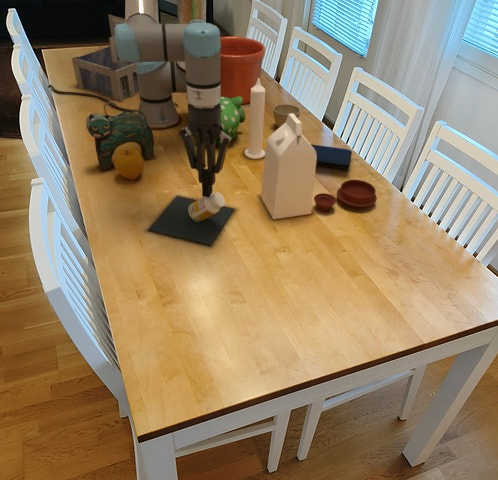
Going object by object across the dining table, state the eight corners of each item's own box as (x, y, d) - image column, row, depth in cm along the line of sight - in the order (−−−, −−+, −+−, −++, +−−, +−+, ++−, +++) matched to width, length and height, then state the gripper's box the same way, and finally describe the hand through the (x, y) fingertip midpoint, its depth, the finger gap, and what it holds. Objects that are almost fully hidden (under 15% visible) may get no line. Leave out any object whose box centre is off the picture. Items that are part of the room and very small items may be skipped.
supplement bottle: (205, 216, 127) (230, 203, 121) (196, 225, 124) (220, 212, 118) (194, 200, 126) (218, 186, 120) (184, 209, 122) (208, 195, 116)
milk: (311, 213, 131) (324, 126, 113) (273, 219, 128) (281, 130, 110) (296, 191, 139) (307, 107, 121) (260, 196, 137) (265, 110, 119)
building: (120, 101, 183) (110, 38, 167) (78, 87, 192) (64, 26, 176) (158, 84, 198) (152, 24, 182) (117, 72, 207) (108, 14, 191)
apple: (120, 168, 145) (115, 142, 139) (148, 170, 145) (145, 143, 139) (113, 183, 139) (108, 156, 132) (142, 185, 139) (138, 158, 132)
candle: (267, 151, 157) (273, 76, 140) (261, 160, 152) (266, 83, 135) (248, 147, 159) (251, 72, 141) (241, 156, 154) (243, 80, 137)
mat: (148, 231, 122) (147, 229, 122) (177, 196, 135) (177, 195, 134) (210, 246, 118) (210, 244, 118) (234, 209, 131) (234, 208, 131)
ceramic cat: (98, 173, 142) (85, 110, 129) (92, 164, 146) (78, 102, 133) (157, 159, 151) (151, 98, 137) (150, 151, 154) (142, 90, 141)
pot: (274, 98, 191) (278, 49, 178) (225, 111, 180) (225, 60, 167) (239, 80, 205) (240, 33, 192) (191, 91, 194) (189, 42, 181)
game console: (350, 158, 156) (356, 132, 150) (347, 177, 147) (352, 150, 140) (305, 151, 159) (309, 125, 152) (299, 169, 149) (302, 143, 143)
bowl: (296, 135, 167) (298, 116, 162) (269, 132, 168) (271, 112, 163) (299, 124, 174) (302, 105, 169) (274, 120, 176) (275, 102, 171)
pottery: (382, 208, 134) (386, 195, 131) (323, 221, 128) (326, 208, 125) (361, 188, 142) (364, 175, 139) (304, 199, 136) (306, 186, 133)
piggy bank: (249, 134, 166) (251, 92, 156) (224, 154, 155) (224, 110, 144) (216, 125, 171) (215, 83, 161) (189, 143, 159) (187, 100, 149)
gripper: (170, 104, 101) (177, 196, 118) (225, 113, 99) (226, 206, 115) (184, 92, 107) (190, 182, 123) (237, 101, 104) (236, 192, 120)
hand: (207, 194), depth 119 cm, fingers closed
